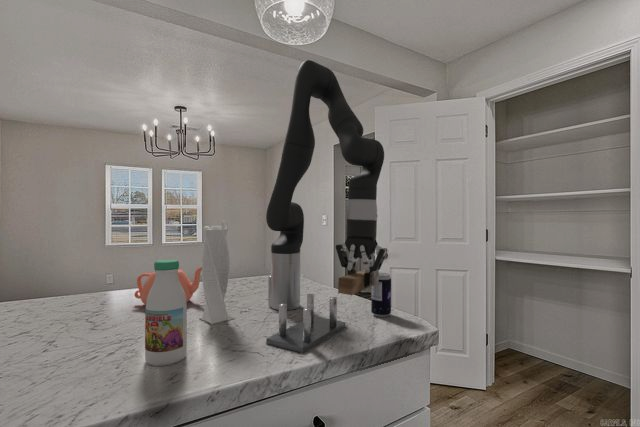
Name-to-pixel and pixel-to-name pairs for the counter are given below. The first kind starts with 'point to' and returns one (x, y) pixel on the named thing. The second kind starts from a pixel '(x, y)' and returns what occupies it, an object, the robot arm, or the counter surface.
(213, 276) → the skyscraper
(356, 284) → the brown wooden bar
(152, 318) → the milk bottle
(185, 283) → the teapot
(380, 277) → the beverage can
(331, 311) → the peg rack
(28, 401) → the counter surface
